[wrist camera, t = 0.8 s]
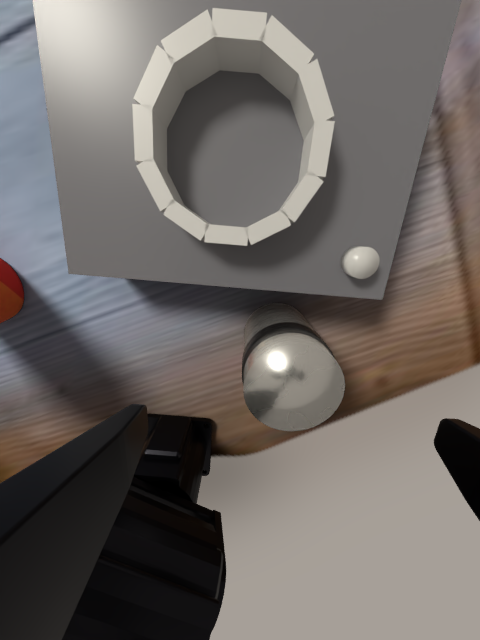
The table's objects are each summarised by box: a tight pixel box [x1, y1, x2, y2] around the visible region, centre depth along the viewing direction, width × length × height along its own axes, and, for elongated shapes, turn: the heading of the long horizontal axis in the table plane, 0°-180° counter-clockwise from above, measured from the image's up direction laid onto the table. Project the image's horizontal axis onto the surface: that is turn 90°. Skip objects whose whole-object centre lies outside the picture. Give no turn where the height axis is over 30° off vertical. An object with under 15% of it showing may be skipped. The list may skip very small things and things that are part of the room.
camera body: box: [33, 0, 461, 300], centre depth 14 cm, size 13×18×7 cm
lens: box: [242, 303, 345, 431], centre depth 17 cm, size 5×5×8 cm
